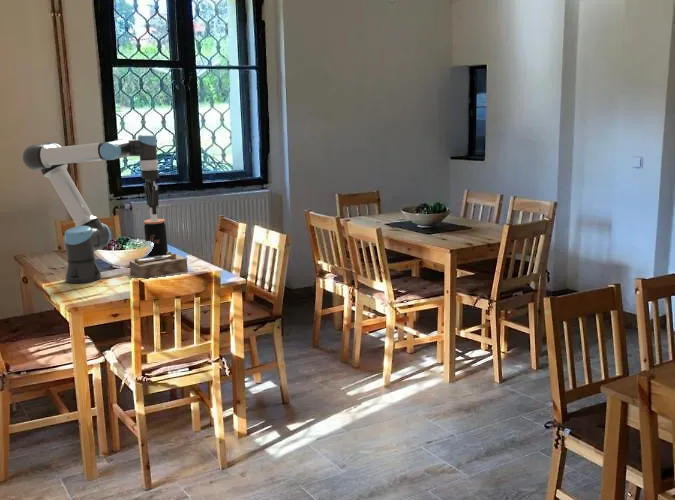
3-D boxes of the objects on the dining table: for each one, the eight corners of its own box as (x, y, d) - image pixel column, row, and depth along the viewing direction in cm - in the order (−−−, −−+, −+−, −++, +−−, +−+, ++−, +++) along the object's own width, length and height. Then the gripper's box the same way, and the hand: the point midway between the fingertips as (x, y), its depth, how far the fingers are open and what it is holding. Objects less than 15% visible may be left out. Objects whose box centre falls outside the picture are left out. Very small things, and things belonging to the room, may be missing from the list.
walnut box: (141, 279, 317) (139, 261, 315) (130, 273, 328) (128, 256, 326) (187, 271, 329) (186, 253, 328) (175, 265, 341) (174, 249, 339)
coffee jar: (142, 256, 364) (139, 221, 360) (156, 252, 373) (153, 218, 369) (158, 257, 359) (155, 222, 355) (172, 253, 368) (169, 219, 364)
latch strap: (138, 263, 321) (138, 260, 320) (136, 262, 323) (136, 259, 323) (173, 257, 330) (173, 254, 330) (171, 256, 333) (170, 253, 332)
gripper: (163, 169, 315) (167, 222, 320) (152, 167, 326) (156, 218, 331) (146, 171, 311) (151, 224, 316) (136, 169, 322) (141, 220, 327)
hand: (154, 221), depth 324 cm, fingers closed
